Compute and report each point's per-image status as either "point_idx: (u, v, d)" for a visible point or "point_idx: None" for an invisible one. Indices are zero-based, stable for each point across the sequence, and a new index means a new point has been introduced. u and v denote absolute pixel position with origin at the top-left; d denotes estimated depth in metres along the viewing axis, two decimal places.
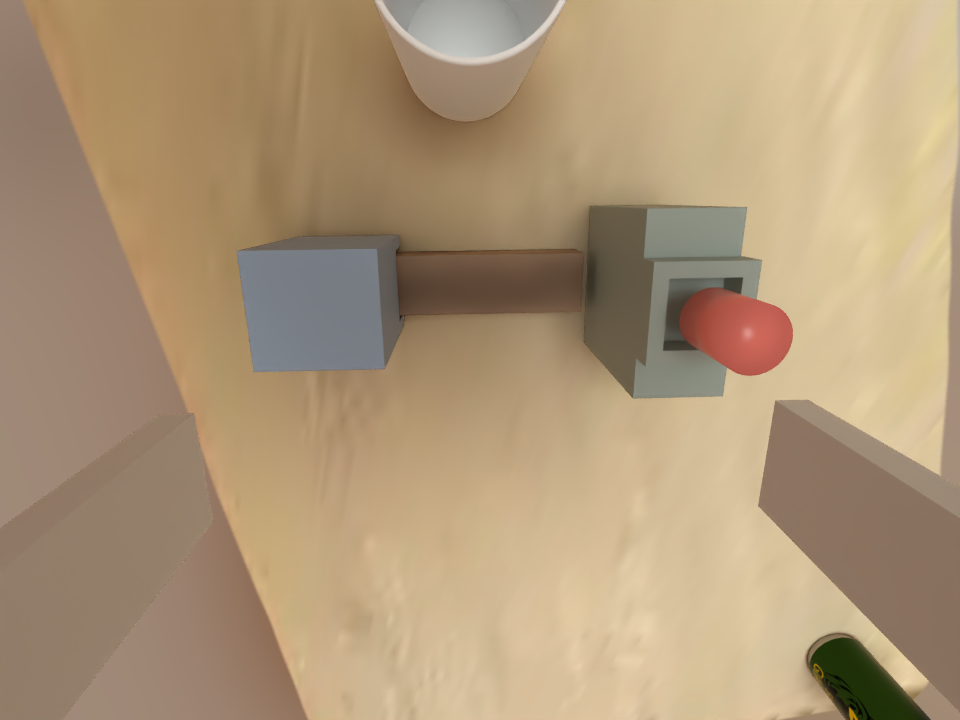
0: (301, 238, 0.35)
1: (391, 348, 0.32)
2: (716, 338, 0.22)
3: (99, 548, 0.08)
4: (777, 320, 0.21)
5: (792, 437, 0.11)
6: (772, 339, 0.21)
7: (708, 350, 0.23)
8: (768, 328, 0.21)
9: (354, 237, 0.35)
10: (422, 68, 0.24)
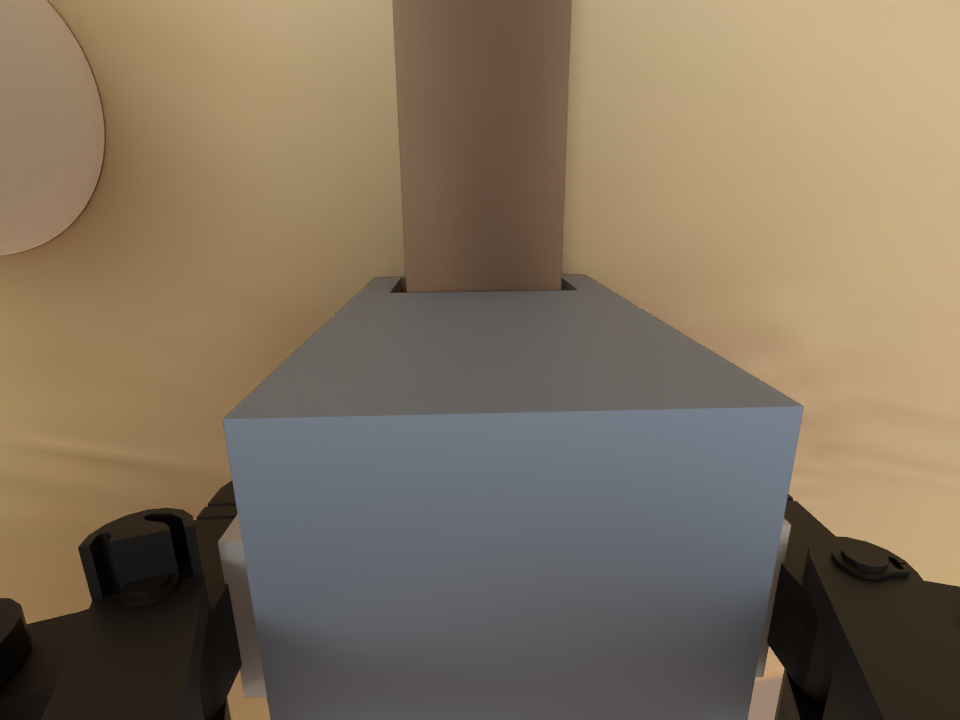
0: None
1: (671, 336, 0.09)
2: None
3: None
4: None
5: None
6: None
7: None
8: None
9: None
10: None
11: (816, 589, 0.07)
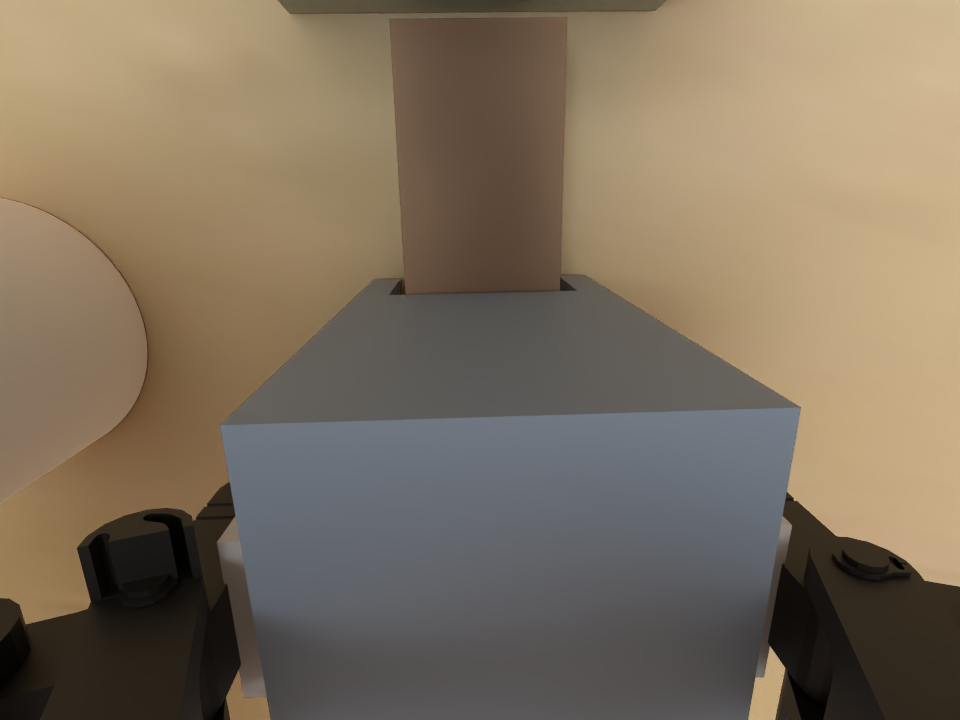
0: None
1: (669, 337, 0.09)
2: None
3: None
4: None
5: None
6: None
7: None
8: None
9: None
10: None
11: (817, 589, 0.07)
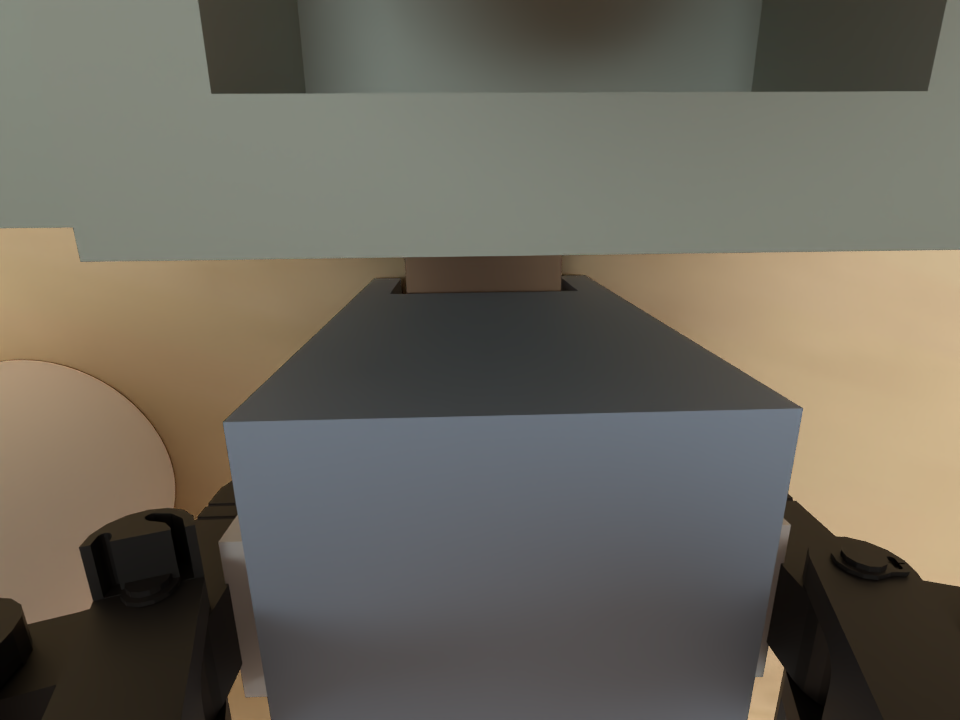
0: None
1: (671, 338, 0.09)
2: None
3: None
4: None
5: None
6: None
7: None
8: None
9: None
10: None
11: (816, 589, 0.07)
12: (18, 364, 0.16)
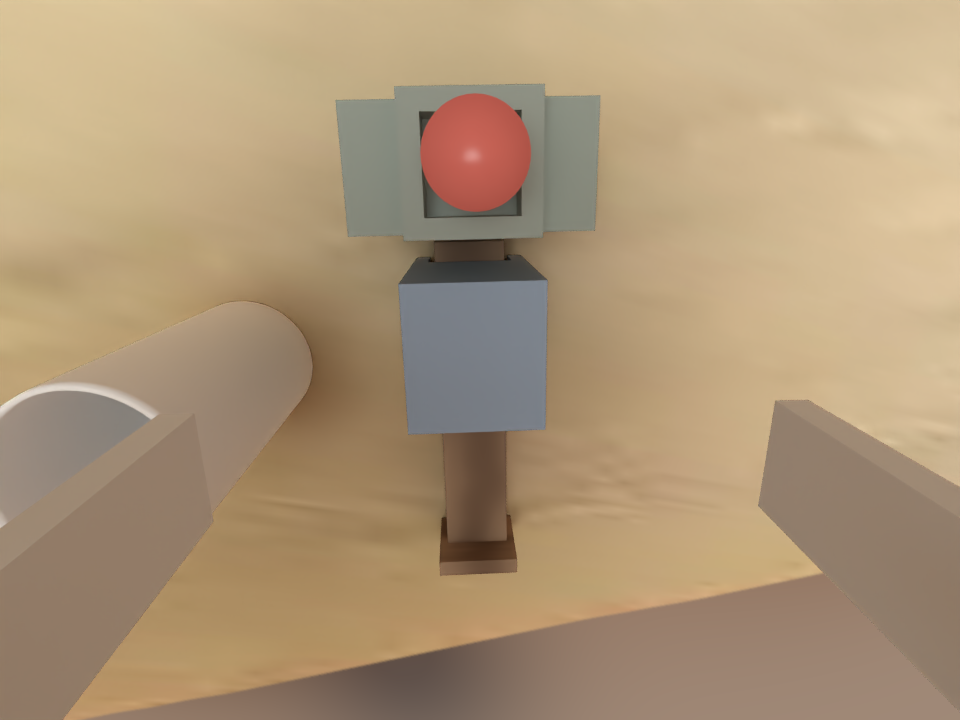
0: None
1: (531, 270, 0.26)
2: (476, 211, 0.15)
3: (99, 548, 0.08)
4: (445, 124, 0.14)
5: (792, 437, 0.11)
6: (474, 126, 0.14)
7: None
8: (457, 136, 0.14)
9: None
10: (230, 487, 0.24)
11: None
12: (242, 302, 0.33)
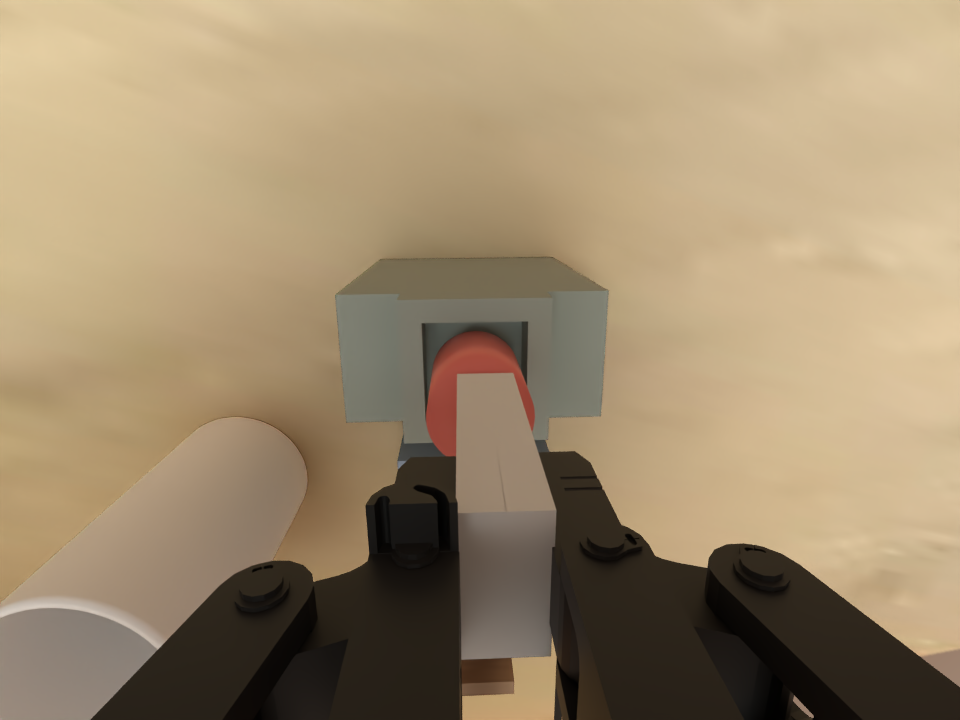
0: None
1: None
2: None
3: None
4: (451, 393, 0.14)
5: None
6: None
7: None
8: None
9: None
10: None
11: (566, 579, 0.07)
12: (236, 419, 0.33)
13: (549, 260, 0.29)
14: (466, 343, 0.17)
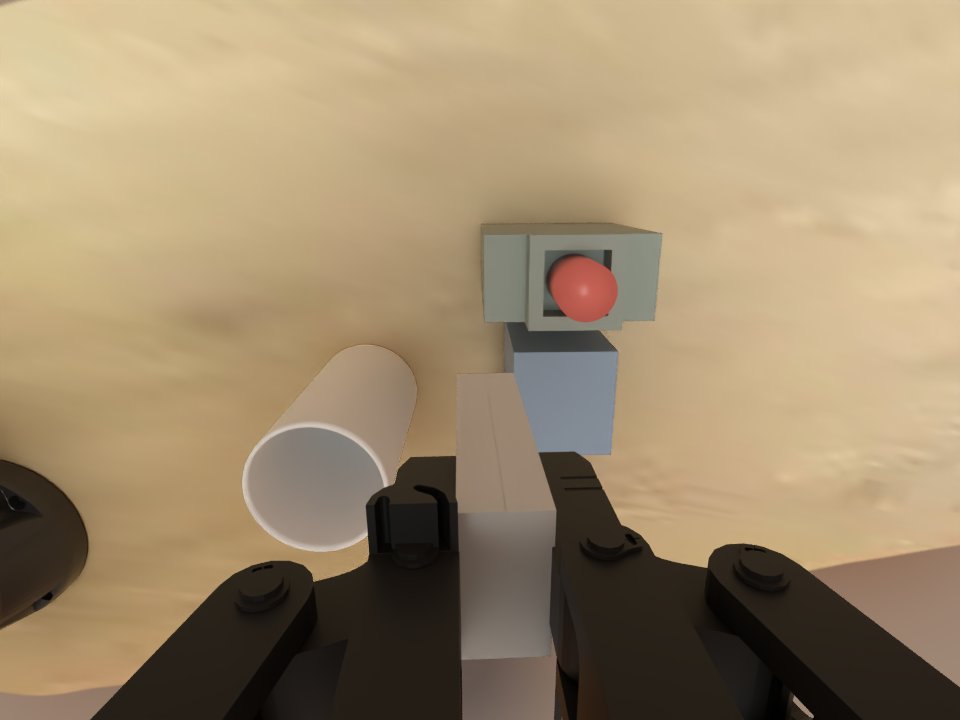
0: None
1: (602, 338, 0.36)
2: (584, 321, 0.27)
3: None
4: (571, 277, 0.26)
5: None
6: (587, 278, 0.26)
7: None
8: (578, 283, 0.26)
9: (505, 354, 0.42)
10: None
11: (566, 579, 0.07)
12: (368, 346, 0.44)
13: (609, 224, 0.40)
14: (572, 257, 0.28)
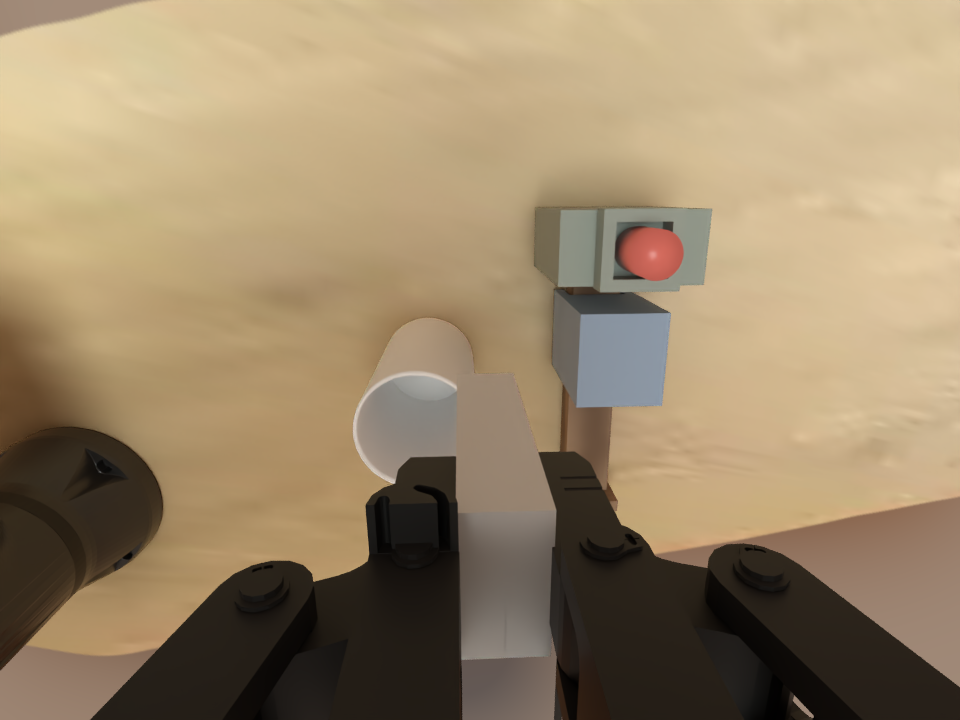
0: (556, 362, 0.47)
1: (651, 304, 0.41)
2: (654, 280, 0.32)
3: None
4: (646, 242, 0.31)
5: None
6: (659, 243, 0.31)
7: None
8: (650, 247, 0.31)
9: (557, 324, 0.47)
10: None
11: (567, 580, 0.07)
12: (431, 318, 0.48)
13: None
14: (640, 227, 0.33)
